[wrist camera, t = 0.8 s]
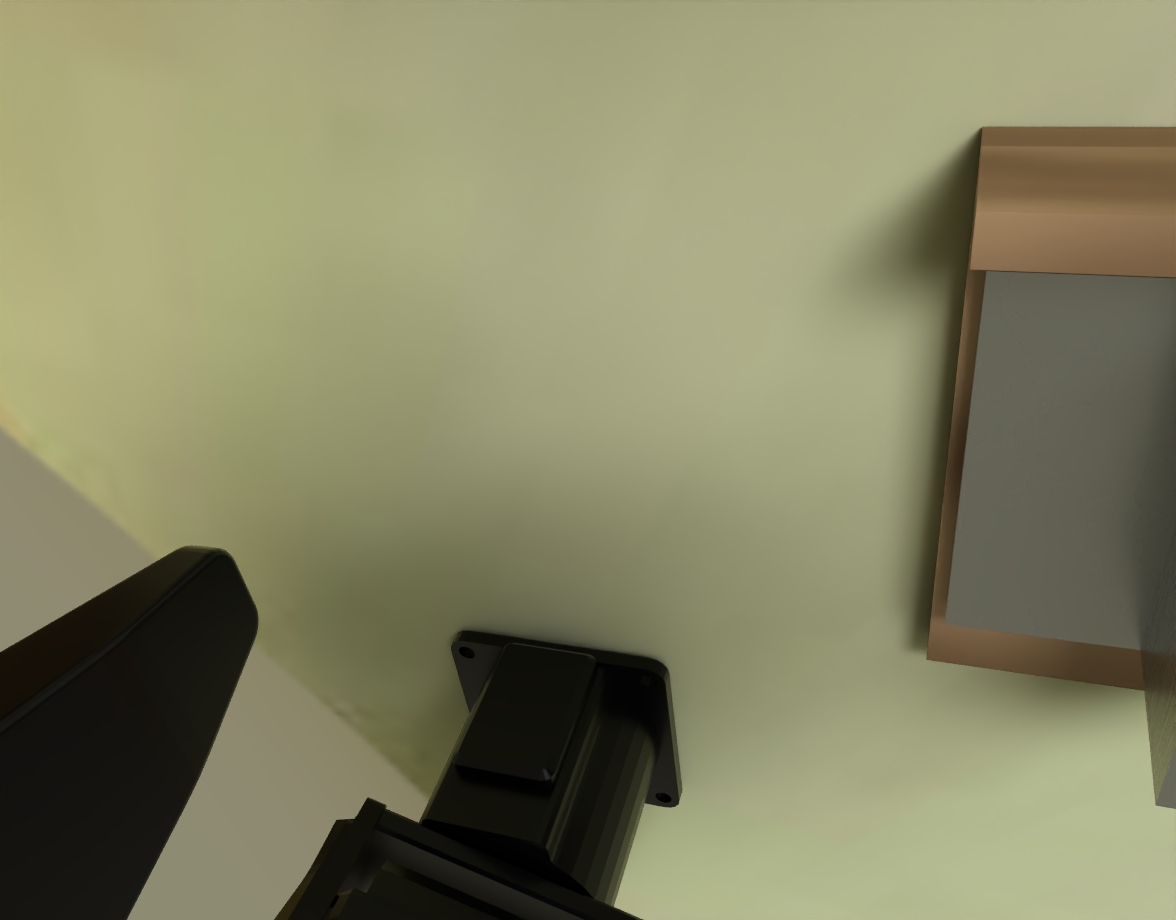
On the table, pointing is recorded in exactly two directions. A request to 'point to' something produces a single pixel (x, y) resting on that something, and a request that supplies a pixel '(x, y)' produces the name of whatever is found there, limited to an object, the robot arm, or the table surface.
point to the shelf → (1054, 245)
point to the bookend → (1075, 476)
